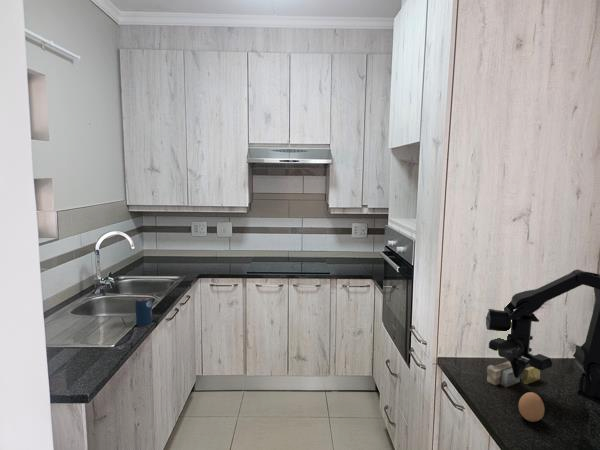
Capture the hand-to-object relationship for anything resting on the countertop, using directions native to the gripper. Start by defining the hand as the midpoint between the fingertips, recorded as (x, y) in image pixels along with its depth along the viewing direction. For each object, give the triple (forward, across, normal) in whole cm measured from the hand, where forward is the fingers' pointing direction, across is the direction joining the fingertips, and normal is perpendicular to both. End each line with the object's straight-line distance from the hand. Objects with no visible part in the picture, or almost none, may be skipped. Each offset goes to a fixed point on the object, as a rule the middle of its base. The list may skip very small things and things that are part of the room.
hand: (516, 377), depth 135 cm
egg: (+3, +14, -14) cm, 20 cm away
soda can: (+3, -111, -103) cm, 151 cm away
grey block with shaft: (+3, -7, 0) cm, 7 cm away
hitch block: (+3, -5, 0) cm, 6 cm away
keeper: (+3, 0, +8) cm, 9 cm away
